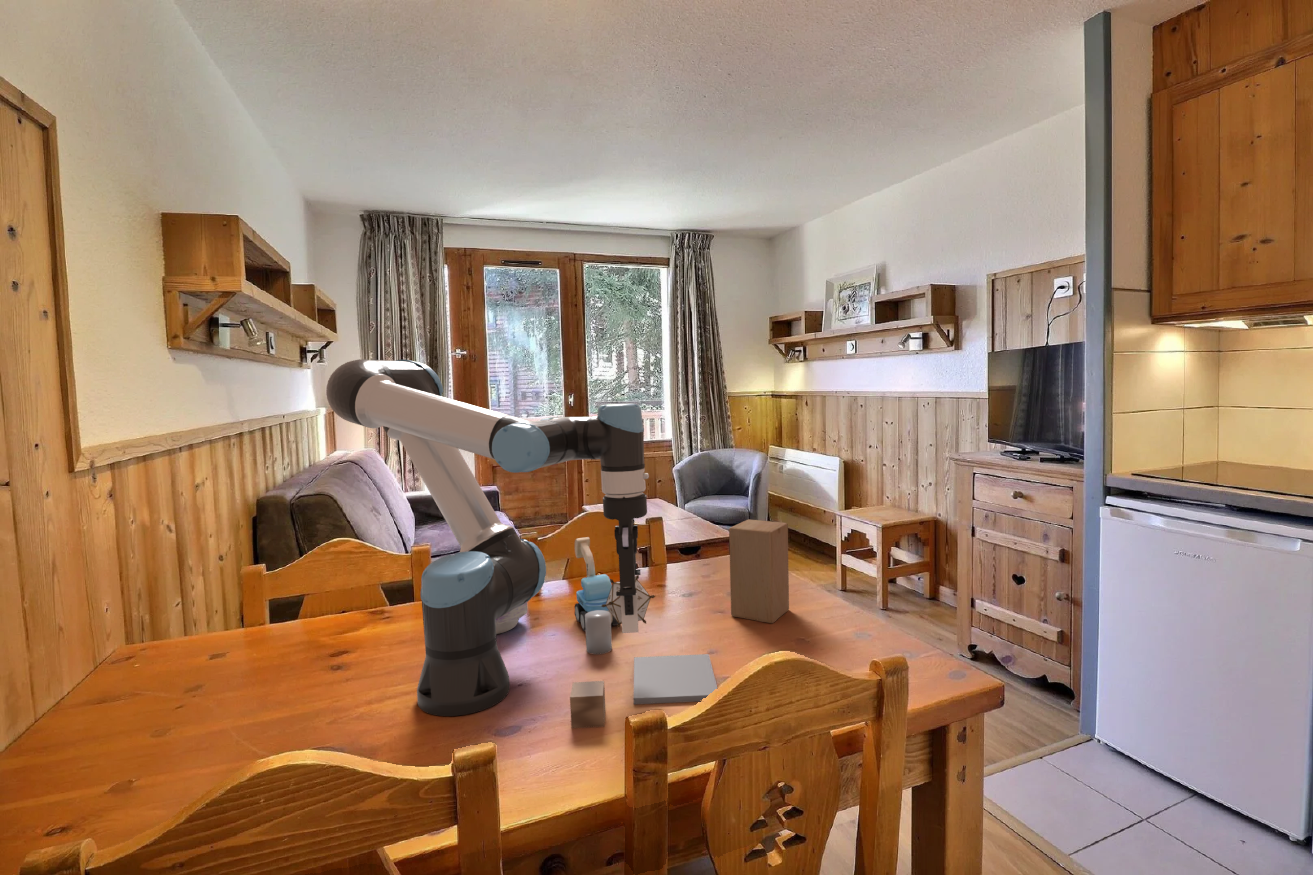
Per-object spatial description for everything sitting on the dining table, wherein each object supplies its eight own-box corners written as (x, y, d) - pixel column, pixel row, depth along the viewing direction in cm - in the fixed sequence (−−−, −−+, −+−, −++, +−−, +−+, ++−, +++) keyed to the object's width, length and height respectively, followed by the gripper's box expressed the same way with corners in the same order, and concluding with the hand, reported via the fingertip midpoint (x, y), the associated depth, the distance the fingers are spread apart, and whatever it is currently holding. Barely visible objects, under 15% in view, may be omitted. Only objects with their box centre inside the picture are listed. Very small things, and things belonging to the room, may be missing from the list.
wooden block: (789, 609, 148) (788, 522, 146) (772, 624, 140) (771, 531, 138) (749, 602, 153) (747, 518, 152) (730, 616, 145) (728, 527, 143)
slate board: (633, 704, 107) (633, 698, 107) (634, 662, 123) (634, 657, 123) (719, 700, 107) (719, 694, 107) (708, 659, 123) (708, 653, 123)
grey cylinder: (585, 654, 127) (583, 619, 127) (587, 644, 132) (586, 610, 132) (611, 653, 127) (609, 618, 127) (612, 643, 132) (611, 609, 132)
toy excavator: (603, 604, 156) (600, 533, 154) (624, 628, 140) (621, 549, 139) (567, 609, 153) (564, 537, 151) (585, 634, 137) (582, 554, 136)
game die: (637, 647, 113) (647, 612, 107) (592, 629, 114) (599, 593, 108) (653, 607, 120) (663, 572, 114) (610, 591, 121) (618, 555, 115)
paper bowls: (490, 611, 153) (488, 578, 153) (542, 620, 146) (540, 586, 146) (441, 634, 140) (438, 598, 139) (495, 646, 133) (493, 608, 132)
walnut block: (571, 728, 100) (569, 697, 100) (574, 712, 105) (572, 682, 105) (604, 726, 100) (602, 695, 100) (605, 710, 105) (604, 680, 105)
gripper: (646, 503, 102) (653, 644, 104) (646, 483, 123) (651, 600, 125) (598, 506, 102) (605, 647, 104) (606, 485, 123) (612, 602, 125)
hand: (631, 621), depth 114 cm, fingers closed on game die, 9 cm apart
